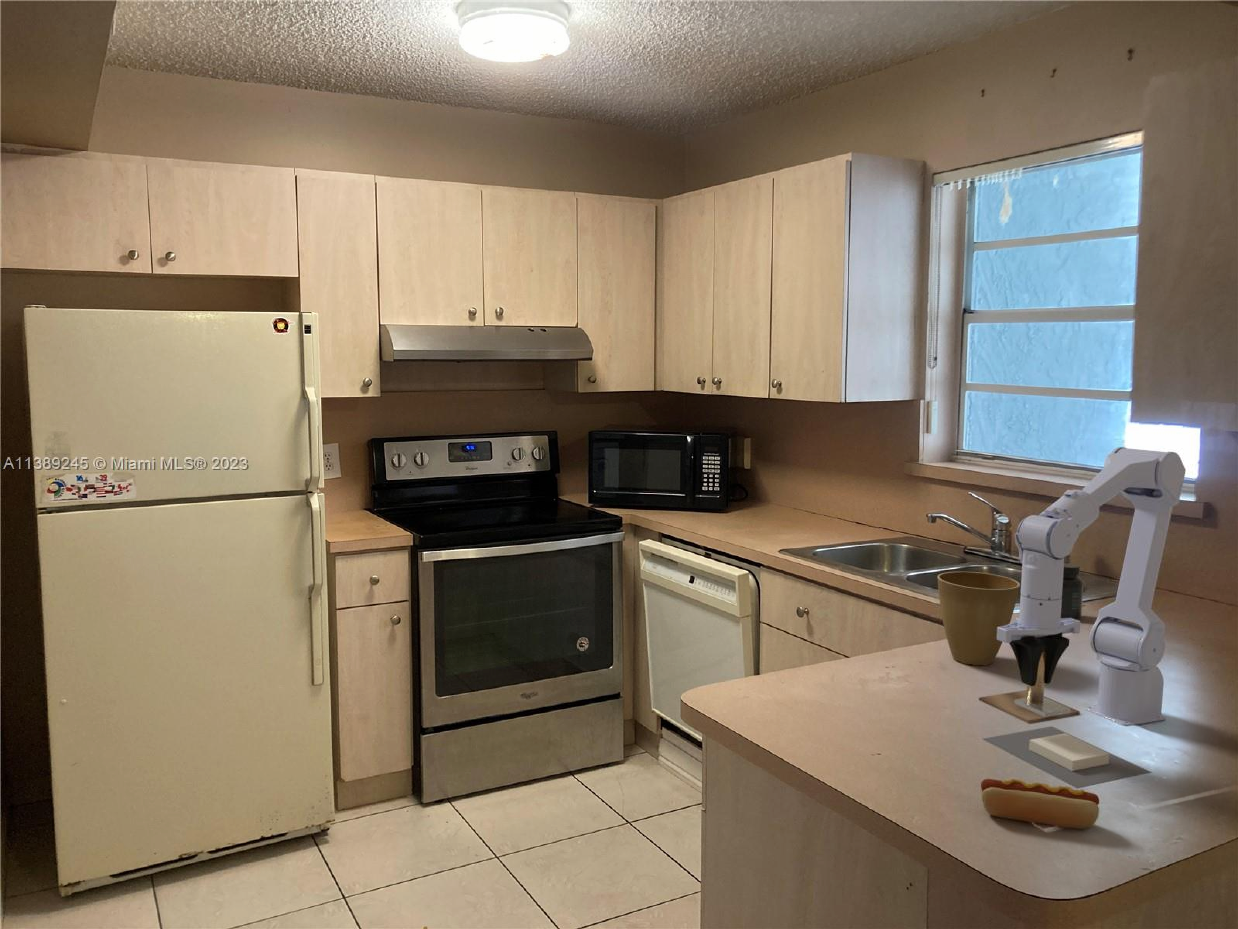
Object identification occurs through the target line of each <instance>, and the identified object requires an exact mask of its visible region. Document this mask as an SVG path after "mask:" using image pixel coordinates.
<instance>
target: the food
mask: <svg viewBox="0 0 1238 929" xmlns="http://www.w3.org/2000/svg"><path fill="white" fill-rule="evenodd" d="M980 789H981V799H982V800H981V801H982V805H983V808H984V809H985V811H986V812H987V813H988V815H990V816H993V817H996V818H1002V819H1008V820H1016V821H1023V822H1027V823H1032V824H1035V823H1036V824H1043V825H1049V826H1050V825H1051V826H1054V827H1059V828H1066V829H1067V828H1071V829H1079V830H1085V829H1090V828H1092V826H1094V825H1095V823H1096V821H1097V820H1098V818H1099V815H1100V814H1099V813H1100V807H1099V804H1100V798H1099V796H1098V795H1097V794H1096V793H1094V792H1088V791H1085V790H1084V789H1078V790H1077V789H1074V788H1071V787H1069V786H1064V785H1062V786H1061V785H1058V786H1050V785H1049V784H1047V783H1044V782H1043V783H1042V782H1033V783H1032V782H1031V783H1028V782H1027V783H1026V782H1025V781H1024V780H1021V779H1014V778H1011V779H1008V780H1004V779H996V778H994V779H993V778H985V779H983V780H981V782H980Z"/></svg>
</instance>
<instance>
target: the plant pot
mask: <svg viewBox="0 0 1238 929" xmlns="http://www.w3.org/2000/svg"><path fill="white" fill-rule="evenodd" d="M937 588H938V589H937V590H938V598H939V600H938V601H939V605H940V614H941V618H942V623H943V627H944V632H945V636H946V640H947V643H948V646H949V650H950V653H951V656H952V659H953V660H954V661H957V662H958V661H959V662H958V663H961V664H966V665H969V664H974V665H973V666H978V665H983V666H986V665H985V664H990V665H992V664H993V663H994V661H995V659H996V658H997V655H998V653H999V650H1000V648H1001V646H1002V644H1003V642H1002V641H1000V640H997V627H1001V626H1005V625H1008V624H1011V621H1012V618H1013V616H1014V611H1015V607H1016V603H1017V599H1018V595H1019V591H1020V588H1021V583H1020V582H1018V580H1015V579H1013V578H1010V577H1007V576H1002V575H1000V574H994V573H986V572H978V571H977V572H976V571H947V572H942V573H940V574H938V575H937ZM991 663H992V664H991Z"/></svg>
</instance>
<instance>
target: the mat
mask: <svg viewBox="0 0 1238 929" xmlns="http://www.w3.org/2000/svg"><path fill="white" fill-rule="evenodd" d="M1064 733H1066V734H1068V735H1070V736H1072V737H1074V738H1076V739H1079V740H1081V741H1083V742H1085V743H1087V744H1089V745H1092V746H1094V747H1096V748H1098V749H1100V750H1102V751H1105V752H1107V753H1109V764H1105V765H1100V766H1095V767H1090V768H1085V769H1080V770H1075V771H1071V770H1069V769H1067V768H1065V767H1063V766H1061V765H1059V764H1057V763H1055V762H1053V761H1051V760H1049V759H1047V758H1045V757H1043V756H1041V755H1039V754H1037V753H1035V752H1033V751H1031V750H1029V742H1030V740H1032V739H1037V738H1043V737H1048V736H1053V735H1059V734H1064ZM983 740H984V741H986V742H987V743H989V744H991V745H993V746H995V747H996V748H998V749H1001V750H1003V751H1005V752H1007V753H1008V754H1010V755H1012V756H1014V757H1016V758H1018V759H1020V760H1022V761H1024V762H1025V763H1027V764H1030V765H1031V766H1034V767H1035V768H1037V769H1040V770H1041V771H1043V772H1045V773H1046V774H1049V775H1050V776H1053V777H1054V778H1057V779H1059V780H1060V781H1062V782H1064V783H1065V784H1068V785H1070V786H1072V787H1074V788H1076V789H1079V788H1085V787H1089V786H1093V785H1098V784H1104V783H1107V782H1108V783H1109V782H1111V781H1116V780H1121V779H1126V778H1127V779H1128V778H1131V777H1135V776H1141V775H1144V774H1145V775H1146V774H1150V773H1151V774H1152V771H1150V770H1148V769H1145V768H1143V767H1142V766H1139V765H1137V764H1135V763H1133V762H1130V761H1128V760H1126V759H1124V758H1122V757H1120V756H1118V755H1115V754H1113V753H1111V752H1110V751H1109V752H1108V751H1107V750H1104V749H1103V748H1100V747H1098V746H1096V745H1093V744H1091V743H1089V742H1087V741H1085V740H1083V739H1080V738H1078V737H1076V736H1073V735H1072V734H1069V733H1067V732H1065V731H1064V730H1061V729H1059V728H1057V727H1054V726H1046V727H1042V728H1041V727H1040V728H1036V729H1034V728H1033V729H1030V730H1023V731H1019V732H1012V733H1008V734H1003V735H1002V734H1001V735H1000V734H999V735H996V736H991V737H990V736H988V737H985V738H982V741H983Z"/></svg>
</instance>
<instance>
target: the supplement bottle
mask: <svg viewBox="0 0 1238 929" xmlns="http://www.w3.org/2000/svg"><path fill="white" fill-rule="evenodd" d="M1080 574H1081V572H1080V565H1077V564H1075V563H1066V562H1064V570H1063V587H1062V602H1061V619H1063V618H1072V619H1075V620H1078V621H1081V619H1082V613H1083V612H1082V610H1083V600H1084V599H1083V598H1084V581H1083V579H1081V577H1079V575H1080Z"/></svg>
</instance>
